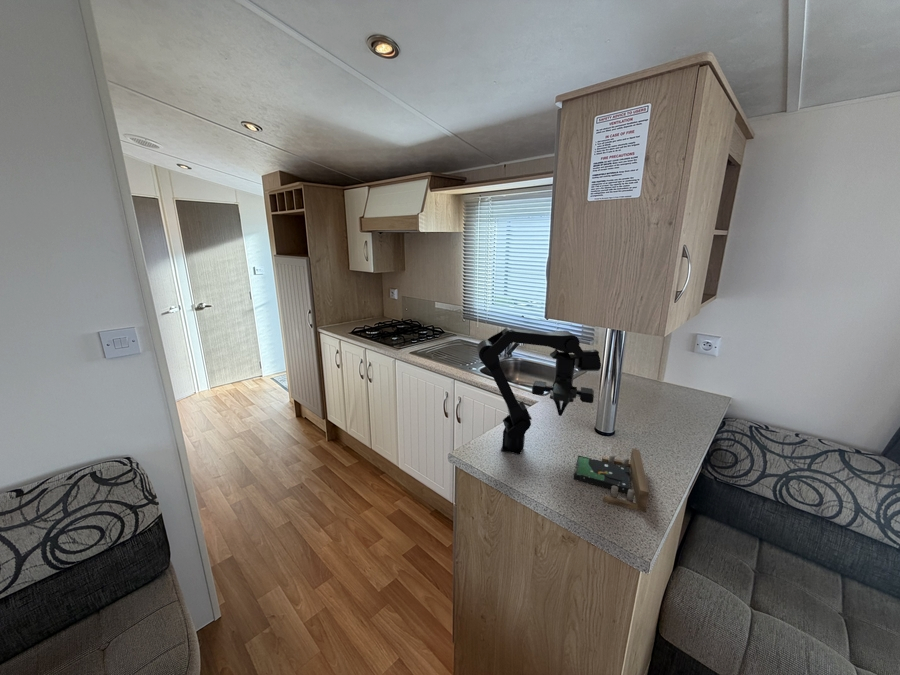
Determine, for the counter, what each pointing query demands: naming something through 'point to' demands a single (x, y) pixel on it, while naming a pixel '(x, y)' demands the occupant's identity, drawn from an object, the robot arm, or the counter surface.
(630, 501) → the drive tray
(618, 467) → the disk drive
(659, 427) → the counter surface
